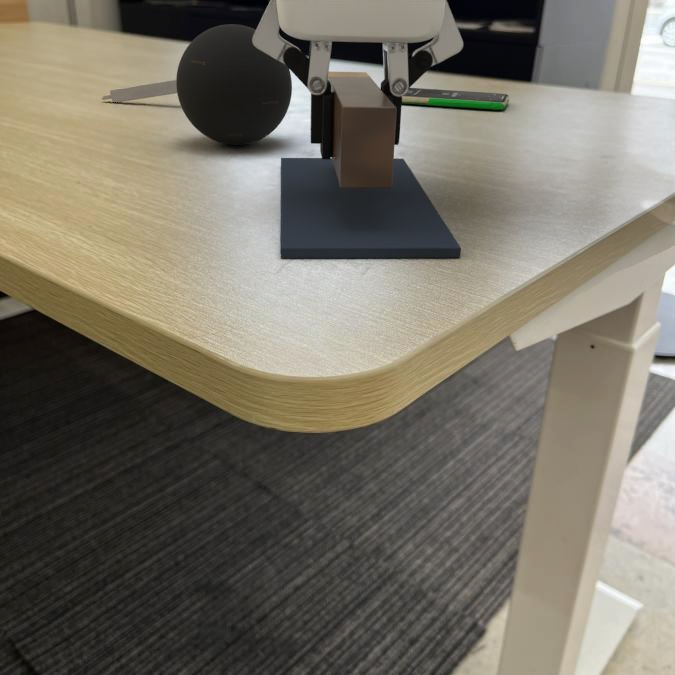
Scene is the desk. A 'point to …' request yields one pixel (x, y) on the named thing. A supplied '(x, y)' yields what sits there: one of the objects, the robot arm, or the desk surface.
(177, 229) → the desk surface
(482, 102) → the smartphone
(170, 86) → the caliper
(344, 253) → the mat
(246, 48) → the speaker
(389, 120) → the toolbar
